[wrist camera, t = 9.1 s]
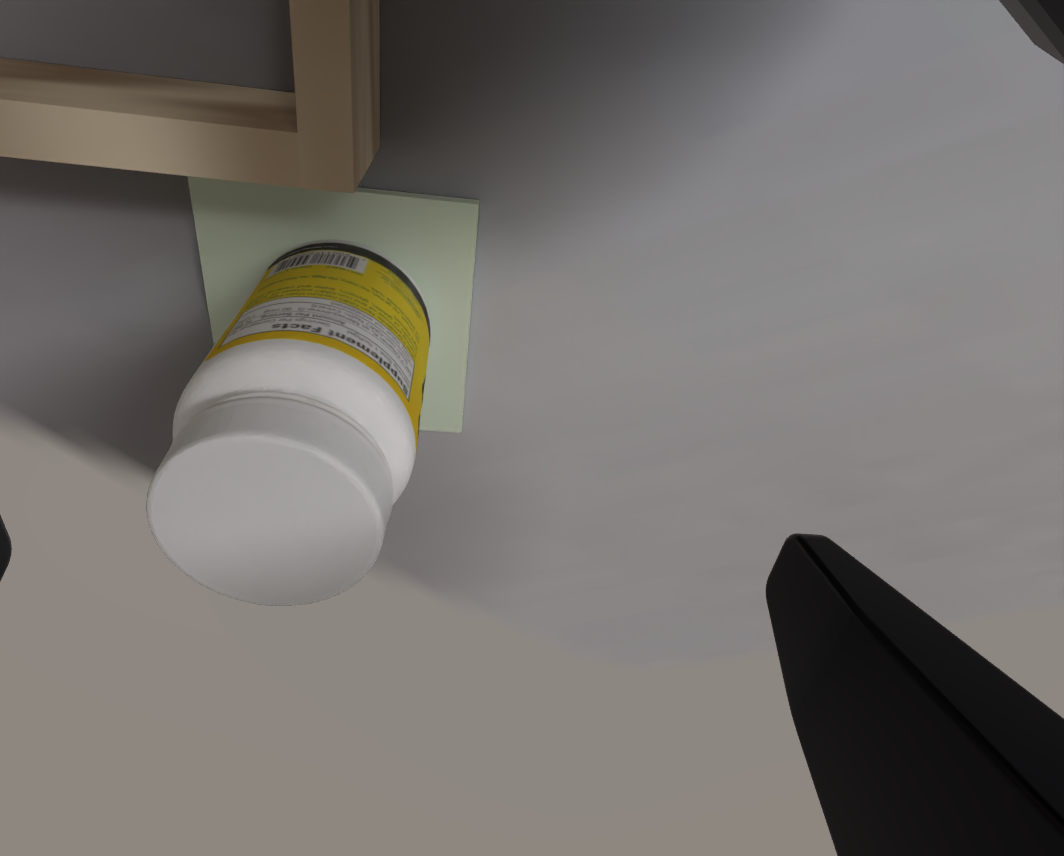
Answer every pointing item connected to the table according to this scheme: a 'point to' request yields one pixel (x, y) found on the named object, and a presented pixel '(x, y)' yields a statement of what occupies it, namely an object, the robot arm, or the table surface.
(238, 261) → the sage mat
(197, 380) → the supplement bottle
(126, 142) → the wooden box
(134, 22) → the table surface
